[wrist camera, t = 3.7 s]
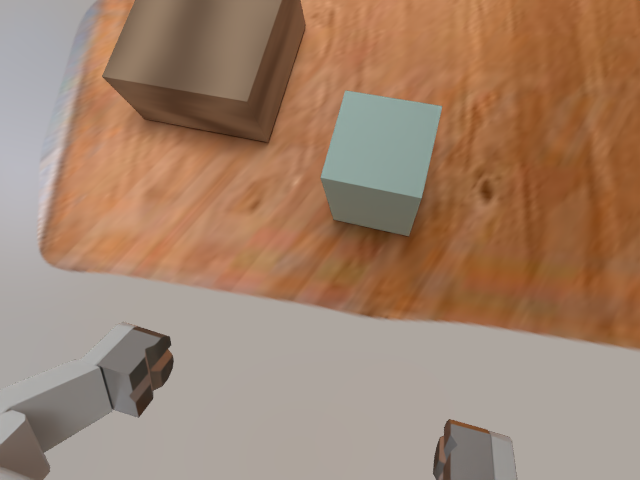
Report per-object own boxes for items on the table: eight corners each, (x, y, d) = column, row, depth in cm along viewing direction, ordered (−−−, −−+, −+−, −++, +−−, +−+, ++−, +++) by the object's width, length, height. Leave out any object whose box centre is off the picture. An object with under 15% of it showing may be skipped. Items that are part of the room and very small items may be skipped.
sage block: (424, 165, 27) (442, 106, 20) (408, 236, 26) (421, 198, 19) (351, 151, 28) (345, 90, 21) (333, 219, 27) (320, 177, 20)
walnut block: (305, 25, 31) (293, -34, 26) (268, 142, 29) (247, 101, 24) (187, 9, 33) (156, -48, 28) (144, 118, 31) (102, 76, 26)
